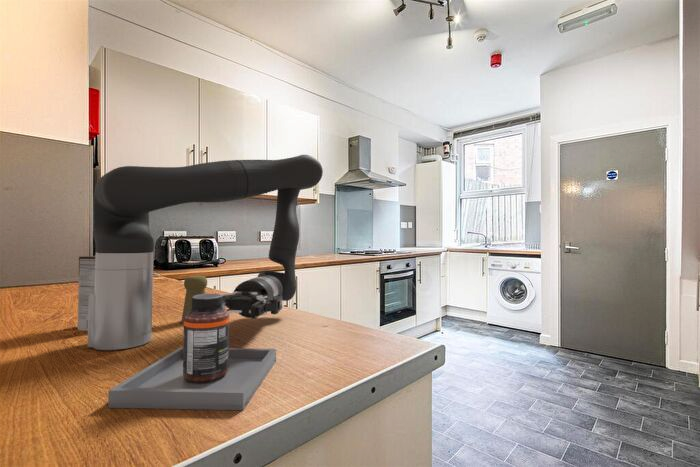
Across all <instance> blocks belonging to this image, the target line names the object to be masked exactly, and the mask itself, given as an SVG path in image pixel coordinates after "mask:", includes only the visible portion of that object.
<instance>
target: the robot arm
mask: <svg viewBox="0 0 700 467" xmlns="http://www.w3.org/2000/svg"><path fill="white" fill-rule="evenodd" d="M322 177H323V167H322V165H321V163H320V161H319V159H317V158H316V157H314V156H312V155H309V154H300V155H295V156H293V157H286V158H281V159H230V160H229V159H228V160H218V161H209V162H202V163H197V164H192V165H191V164H190V165H187V166H185V165H184V166H171V167H170V166H169V167H168V166H166V167H165V166H164V167H163V166H142V165H141V166H138V165H137V166H136V165H124V166H119V167H116V168H113V169H112V170H110V171H108V172H107V173H105V174H104V175H102V176H101V177H100V178H99V179H98V180H97V181H96V184H95V187H94V191H93V192H94V193H93V238H94V242H95V243H94V244H95V255H94V256H95V293H93V294H90V295H89V307H88V331H87V347H86V348H93V349H95V350H97V351H98V350H99V351H100V350H101V351H117V350H124V349H125V350H126V349H130V348H135V347H139V346H143V345H145V344H148V343H149V342H151V341H152V337H153V336H152V333H153V300H154V299H153V298H154V297H153V296H154V295H153V293H154V292H153V291H154V254H155V252H154V251H155V250H154V248H155V246H154V245H155V244H154V243H155V240H154V238H153V236H152V234H151V231H150V230H151V229H150V213H151V212H154V211H157V210H161V209H165V208H168V207H174V206H177V205H184V204H188V203H208V204H209V203H225V202H232V201H238V200H239V201H240V200H244V199H249V198H252V197H253V198H254V197H257V196H261V195H265V194H267V193H272V192H275V191H277V195H276V196H277V197H276V210H275V211H276V212H275V221H274V227H273V231H272V232H273V233H272V235H271V236H272V237H271V241H270V246H269V251H268V258H269V261H271V262H273V263H275V264H276V263H277V264H279V265H281V266H282V267H283V269H284V272H279V271H274V270H266V269H265V270H261V271H260V272H259V273H258V275H257V276H256V277H254V278H249V279H247V280H245V281H242V282H240V283H239V284H238V285H237V286H236V287H235V288H234V291H232V292H231V293H223V294H221V295H222V296H223V298H222V300H223V304H222V307H223V308H224V309H226V310H227V311H228V313H229V314H232V313H235V314H238V315H240V316H241V317H244V318H247V319H257V318H258V317H260V316H265V315H267V314H268V312H270V314H271V315H278V313H279V312H280V311H281V310H282V309H283V301H285V302H288V301H290V300H292V299H293V297H294V296H295V294H296V293H297V279H296V257H297V256H296V255H297V252H298V247H299V246H298V244H299V241H300V224H299V221H298V216H297V215H298V214H297V203H298V202H297V201H298V198H299V194H300V192H301V190H309V189H312V188H314V187H315V186H317V185H318V184H319V183H320V182H321V179H322ZM214 294H218V293H214Z"/></svg>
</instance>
